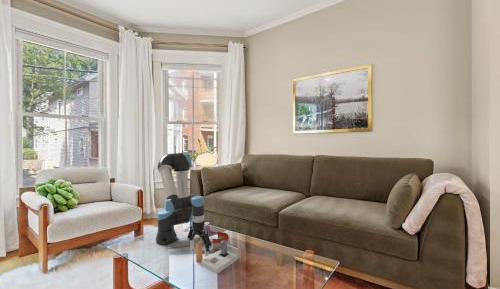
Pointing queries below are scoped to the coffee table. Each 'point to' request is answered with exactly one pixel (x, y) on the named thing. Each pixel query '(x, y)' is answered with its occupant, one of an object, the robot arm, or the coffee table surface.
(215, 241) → the toy
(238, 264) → the coffee table surface
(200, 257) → the orange pin
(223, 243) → the grey pin
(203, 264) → the housing
